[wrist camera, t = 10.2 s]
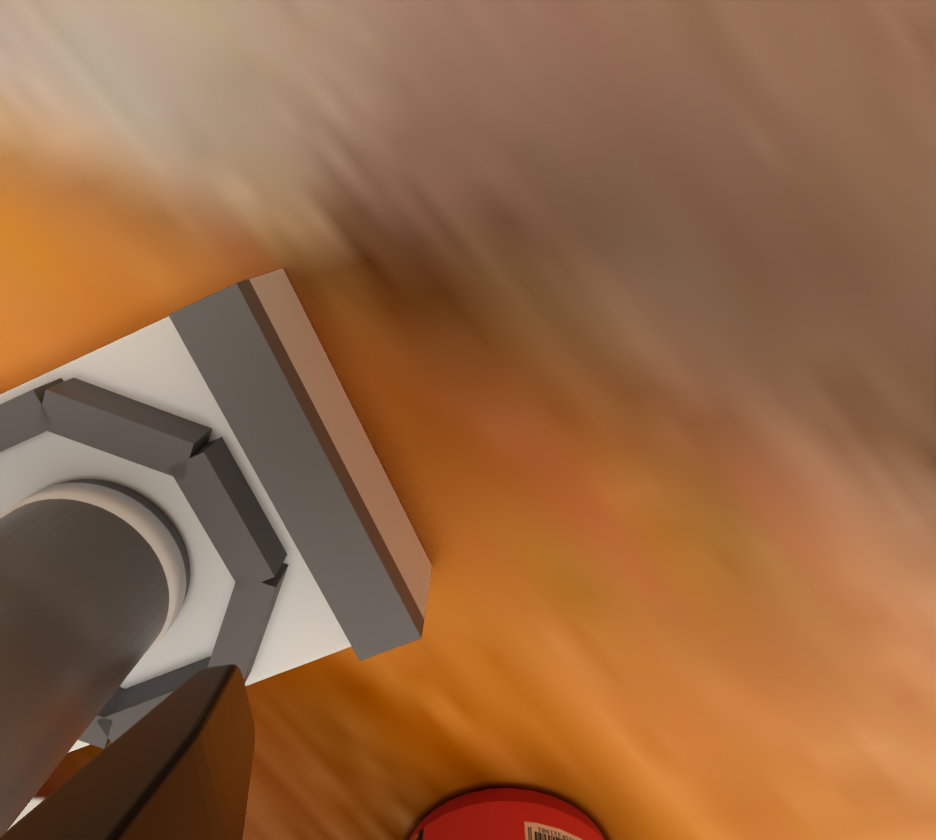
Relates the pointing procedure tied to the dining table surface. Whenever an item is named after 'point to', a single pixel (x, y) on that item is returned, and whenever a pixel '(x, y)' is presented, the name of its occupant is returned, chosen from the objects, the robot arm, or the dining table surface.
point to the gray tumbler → (76, 617)
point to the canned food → (506, 818)
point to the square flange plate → (231, 488)
